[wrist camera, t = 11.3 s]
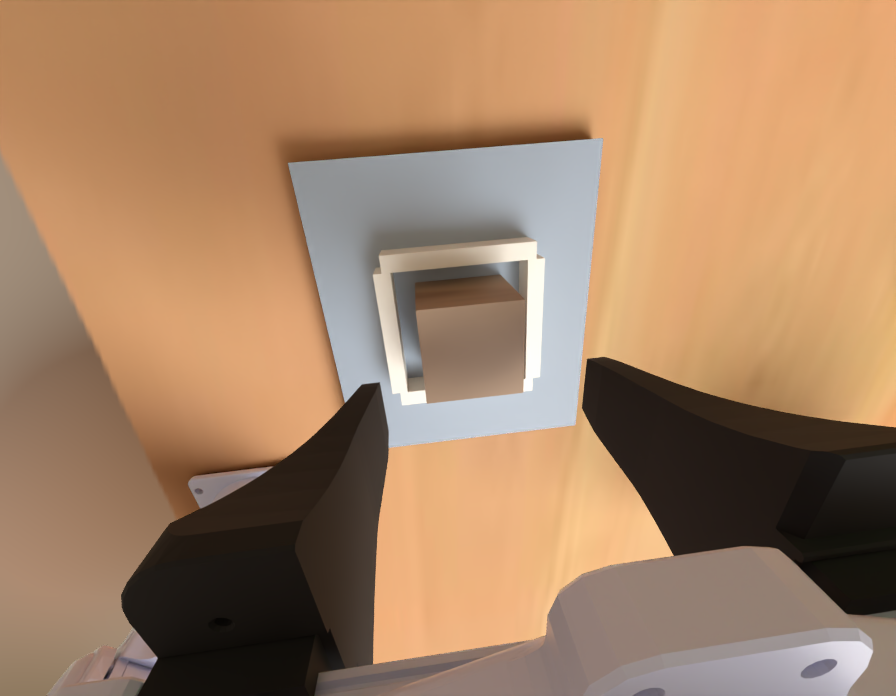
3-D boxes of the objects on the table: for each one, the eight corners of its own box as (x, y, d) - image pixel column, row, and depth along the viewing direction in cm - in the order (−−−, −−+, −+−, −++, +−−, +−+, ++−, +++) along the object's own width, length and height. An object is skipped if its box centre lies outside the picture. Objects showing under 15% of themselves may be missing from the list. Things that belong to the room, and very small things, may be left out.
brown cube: (501, 351, 20) (523, 392, 16) (423, 359, 20) (426, 403, 16) (500, 274, 18) (525, 299, 14) (414, 282, 18) (415, 310, 14)
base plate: (569, 415, 24) (585, 440, 21) (358, 441, 23) (352, 469, 21) (593, 140, 17) (621, 133, 15) (294, 164, 16) (275, 160, 14)
